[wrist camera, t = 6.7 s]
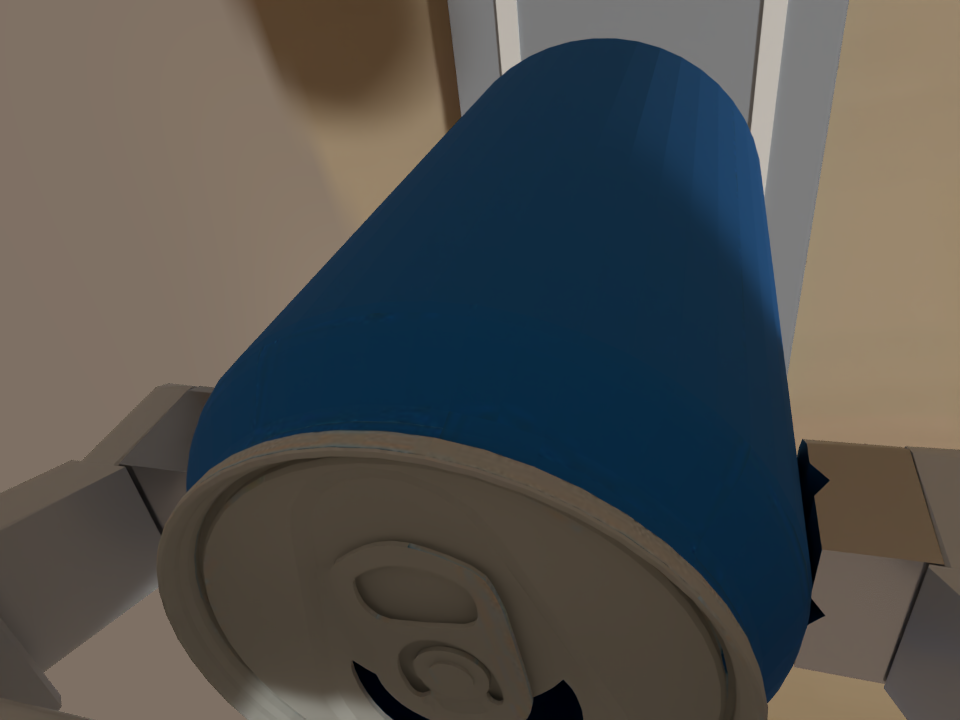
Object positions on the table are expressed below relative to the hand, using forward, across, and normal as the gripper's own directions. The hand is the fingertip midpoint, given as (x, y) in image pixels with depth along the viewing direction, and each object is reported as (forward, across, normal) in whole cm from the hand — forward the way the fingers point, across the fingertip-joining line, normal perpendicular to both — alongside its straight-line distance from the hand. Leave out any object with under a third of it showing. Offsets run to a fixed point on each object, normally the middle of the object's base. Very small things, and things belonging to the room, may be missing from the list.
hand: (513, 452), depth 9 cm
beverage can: (+9, 0, 0) cm, 9 cm away
